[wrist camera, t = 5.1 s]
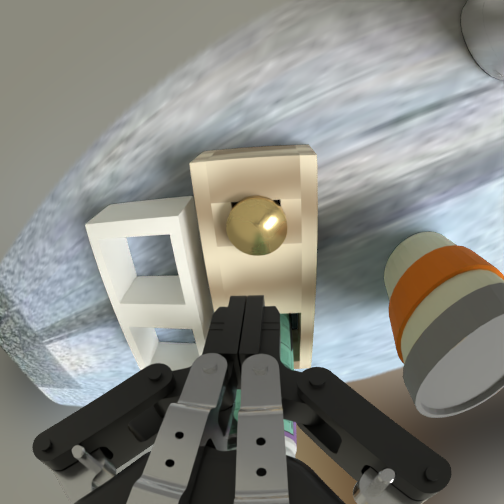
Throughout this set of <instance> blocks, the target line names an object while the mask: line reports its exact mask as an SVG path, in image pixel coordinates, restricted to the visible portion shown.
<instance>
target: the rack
mask: <svg viewBox="0 0 504 504" xmlns="http://www.w3.org/2000/svg"><path fill="white" fill-rule="evenodd" d="M85 227H86V230H87V234H88V237H89V240H90V244H91V247H92V250H93V253H94V256H95V259H96V262H97V265H98V268H99V271H100V274H101V277H102V280H103V282H104V285H105V288H106V291H107V293H108V296H109V298H110V301H111V304H112V306H113V309H114V311H115V314H116V316H117V319H118V321H119V323H120V326H121V328H122V331H123V333H124V335H125V337H126V340H127V342H128V344H129V346H130V349H131V351H132V353H133V355H134V357H135V359H136V362H137V364H138V366H139V368H140V370H142V369H144V368H145V367H147V366H148V365H151V364H155V363H162V364H165V365H167V366H169V367H170V368H171V370H172V371H174V370H179V369H184V368H188V367H190V366H192V364H193V362H194V361H195V360H196V359H197V358H198V357H199V356H201V355H202V353H203V349H204V345H205V341H206V338H207V334H208V331H209V327H210V324H211V319H212V315H213V313H214V312H213V307H212V301H211V296H210V291H209V286H208V280H207V275H206V269H205V264H204V258H203V252H202V246H201V240H200V234H199V228H198V222H197V216H196V209H195V203H194V196H184V197H173V198H163V199H153V200H144V201H135V202H126V203H118V204H110V205H109V206H107V207H106V208H105V209H103V210H102V211H101V212H100V213H98V214H97V215H96V216H95V217H93V218H92V219H91V220H90V221H89V222H87V223H86V224H85ZM167 234H170V238H171V243H172V247H173V252H174V256H175V261H176V265H177V270H178V274H179V275H177V276H137V274H136V270H135V267H134V264H133V260H132V257H131V253H130V249H129V246H128V242H127V238H126V237H136V236H151V235H167ZM154 328H171V329H192V330H193V334H194V337H195V341H196V343H175V342H159V340H158V337H157V334H156V331H155V329H154Z"/></svg>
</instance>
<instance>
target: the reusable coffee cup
mask: <svg viewBox="0 0 504 504" xmlns="http://www.w3.org/2000/svg"><path fill="white" fill-rule="evenodd" d="M384 283H385V287H386V290H387V294H388V297H389V301H390V303H389V318H390V322H391V327H392V331H393V336H394V340H395V345H396V350H397V353H398V356H399V358H400V360H401V361H402V362H403V363H404V367H403V379H404V382H405V385H406V387H407V389H408V391H409V393H410V395H411V397H412V399H413V402H414V404H415V406H416V408H417V410H418V411H419V412H420V413H421V414H423V415H425V416H427V417H434V418H436V417H447V416H452V415H455V414H459V413H462V412H464V411H467V410H469V409H471V408H473V407H475V406H477V405H479V404H481V403H482V402H484V401H486V400H487V399H489V398H490V397H492V396H493V395H495V394H496V393H497V392H498V391H499V390H501V389H502V388H503V387H504V276H503V274H502V273H501V272H500V271H499V270H498V269H497V268H495V267H494V266H493V265H491V264H490V263H489V262H487V261H486V260H484V259H483V258H482V257H480V256H479V255H477V254H476V253H475V252H473V251H472V250H470V249H468V248H466V247H463V246H457V245H456V244H454V243H453V242H451V241H450V240H449V239H447V238H446V237H444V236H443V235H441V234H438V233H436V232H421V233H417V234H415V235H412V236H410V237H408V238H407V239H406V240H404V241H403V242H401V243H400V244H399V245H398V246H397V247H396V248H395V250H394V251H393V252H392V254H391V255H390V257H389V259H388V261H387V263H386V267H385V270H384Z"/></svg>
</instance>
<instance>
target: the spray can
mask: <svg viewBox="0 0 504 504" xmlns="http://www.w3.org/2000/svg"><path fill="white" fill-rule="evenodd" d="M280 328H281V358H280V360H281V362H282V363H283V365H285V366H286V367H287V368H289V369H291V370H294V360H293V340H292V322H291V313H284V314H280ZM235 401H236V406H235V410H234V415H233V419H232V423H231V427H230V432H229V436H228V441H227V451H230V450H236V449H237V427H238V411H239V410H240V406H241V390H240V389H237V393H236V399H235ZM283 420H284V434H285V448H286V455H288V456H291V457H294V458H295V453H296V450H297V448H296V422H293V421H289V420H286V419H283Z"/></svg>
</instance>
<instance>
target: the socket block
mask: <svg viewBox="0 0 504 504" xmlns="http://www.w3.org/2000/svg"><path fill="white" fill-rule="evenodd" d="M189 164H190V171H191V179H192V185H193V192H194V199H195V206H196V212H197V218H198V225H199V231H200V237H201V243H202V249H203V255H204V260H205V266H206V272H207V277H208V283H209V288H210V293H211V299H212V304H213V309H214V312H215V311H216V310H217V309H218V308H219V307H228V304H229V300H230V296H242V295H247V296H248V295H264V301H265V306H276V308H277V309H278V311H279V313H280V314H284V313H298V326H297V329H292V340H293V360H294V369H302V368H311V359H312V346H313V331H314V315H315V295H316V269H317V214H318V197H317V155H316V153H315V152H314V151H313V149H312V148H311V147H310V146H309V145H282V146H262V147H247V148H234V149H222V150H212V151H204V152H202V153H201V154H200V155H199V156H197V157H196V158H195V159H194V160H193V161H191V162H190V163H189ZM249 196H265V197H268V198H270V199H272V200H280V206H281V207H282V209H283V211H284V212H285V215H286V219H287V235H286V238H285V240H284V242H283V243H282V245H281V246H280V247H279V248H278V249H277V250H275V251H274V252H272V253H270V254H267V255H261V256H254V255H248V254H246V253H243V252H241V251H240V250H238V249H237V248H236V247H235V246H234V245H233V244H232V243H231V241H230V240H229V238H228V235H227V231H226V224H227V219H228V217H229V214H230V211H231V210H232V208H233V207H234V205H235V204H236V203H237V202H239V201H240V200H242V199H244V198H246V197H249Z"/></svg>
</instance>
